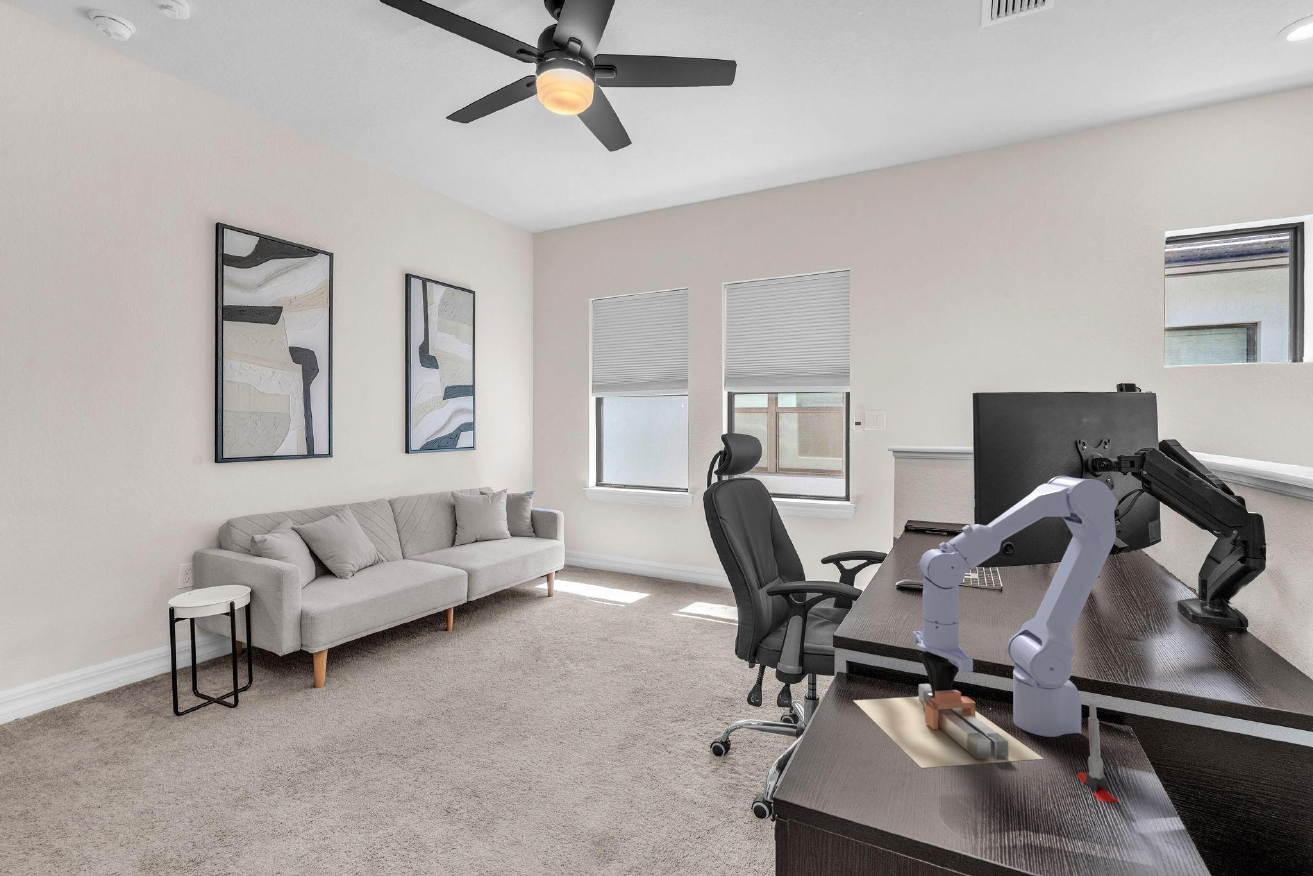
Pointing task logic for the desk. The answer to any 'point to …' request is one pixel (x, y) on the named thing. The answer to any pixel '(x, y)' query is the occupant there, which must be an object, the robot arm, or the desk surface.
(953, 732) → the bar
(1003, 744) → the tong base
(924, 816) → the desk surface
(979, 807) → the desk surface
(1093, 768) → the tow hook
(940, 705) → the collar
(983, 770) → the desk surface
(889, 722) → the board
